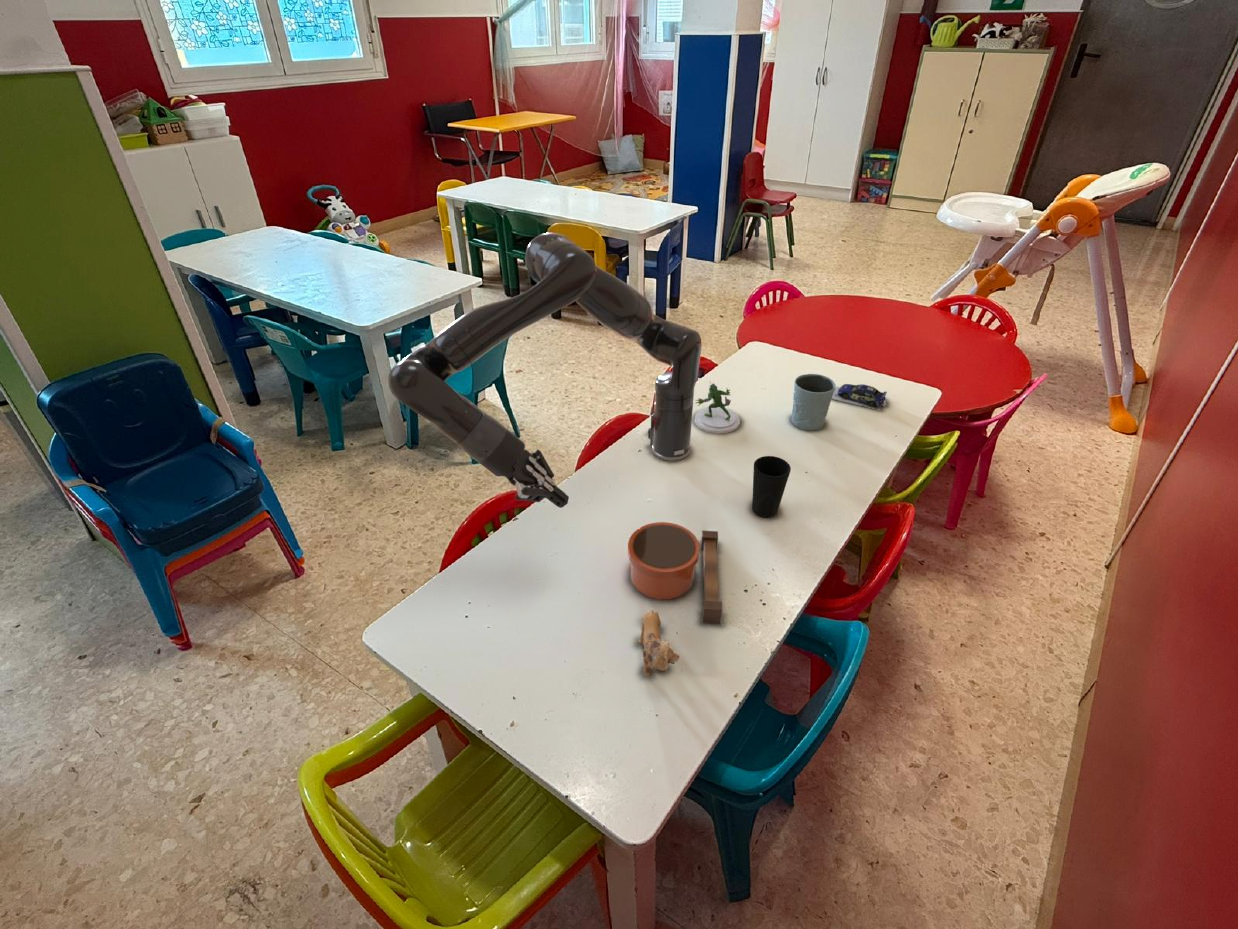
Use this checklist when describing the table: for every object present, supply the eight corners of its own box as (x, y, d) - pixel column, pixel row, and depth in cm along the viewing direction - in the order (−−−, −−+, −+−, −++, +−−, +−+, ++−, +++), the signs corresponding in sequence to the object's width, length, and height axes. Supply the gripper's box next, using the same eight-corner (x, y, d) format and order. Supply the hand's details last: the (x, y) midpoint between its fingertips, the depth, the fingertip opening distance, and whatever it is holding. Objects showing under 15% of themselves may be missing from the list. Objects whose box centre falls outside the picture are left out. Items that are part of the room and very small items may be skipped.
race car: (828, 398, 179) (831, 384, 177) (833, 388, 184) (836, 374, 181) (883, 411, 174) (887, 397, 171) (887, 400, 178) (891, 386, 176)
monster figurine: (720, 405, 177) (724, 372, 170) (748, 425, 168) (753, 391, 162) (685, 417, 172) (688, 383, 166) (713, 438, 163) (716, 403, 157)
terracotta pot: (630, 604, 118) (631, 573, 114) (624, 553, 129) (624, 523, 125) (702, 599, 119) (705, 569, 114) (690, 549, 130) (693, 519, 125)
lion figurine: (679, 687, 104) (682, 652, 99) (648, 693, 103) (650, 659, 98) (655, 618, 116) (657, 584, 110) (627, 624, 115) (627, 590, 109)
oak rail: (720, 624, 115) (722, 610, 112) (702, 622, 115) (704, 608, 113) (716, 544, 131) (717, 531, 129) (700, 543, 131) (702, 530, 129)
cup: (782, 523, 137) (791, 479, 129) (746, 518, 138) (753, 474, 131) (782, 501, 143) (790, 457, 136) (747, 496, 144) (754, 453, 137)
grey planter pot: (831, 419, 170) (840, 379, 163) (819, 436, 164) (828, 396, 157) (795, 408, 175) (802, 369, 168) (782, 425, 168) (789, 385, 161)
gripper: (495, 454, 101) (574, 516, 107) (513, 411, 112) (584, 470, 118) (467, 479, 105) (545, 537, 111) (487, 435, 115) (557, 491, 122)
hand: (565, 502), depth 115 cm, fingers closed
